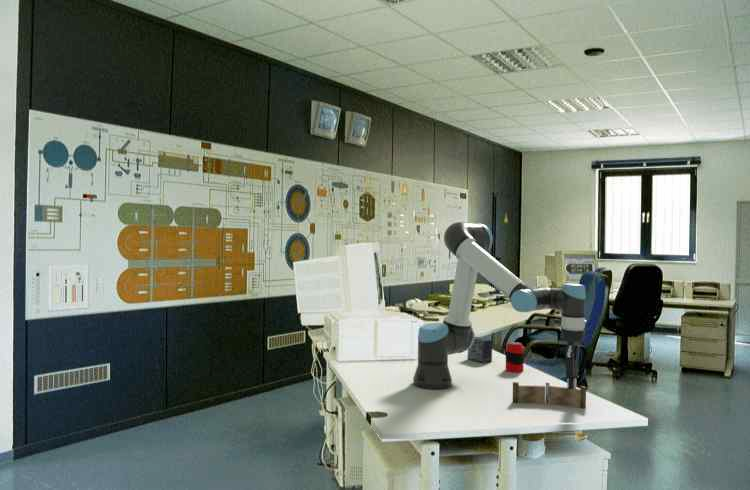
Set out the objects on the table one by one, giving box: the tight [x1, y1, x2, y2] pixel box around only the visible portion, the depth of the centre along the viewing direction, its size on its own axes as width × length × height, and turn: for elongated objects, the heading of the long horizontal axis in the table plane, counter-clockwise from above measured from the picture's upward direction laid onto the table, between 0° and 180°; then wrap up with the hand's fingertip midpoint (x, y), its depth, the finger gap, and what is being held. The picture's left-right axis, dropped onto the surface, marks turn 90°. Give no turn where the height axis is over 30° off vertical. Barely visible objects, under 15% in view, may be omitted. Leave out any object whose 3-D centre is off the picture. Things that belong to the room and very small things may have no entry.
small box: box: [467, 336, 493, 364], centre depth 262 cm, size 11×6×10 cm, turn 34°
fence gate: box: [544, 382, 587, 409], centre depth 190 cm, size 13×2×7 cm, turn 65°
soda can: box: [505, 341, 525, 373], centre depth 242 cm, size 8×8×12 cm
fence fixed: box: [512, 381, 546, 404], centre depth 193 cm, size 11×2×7 cm, turn 89°
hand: (571, 396), depth 190 cm, fingers closed
